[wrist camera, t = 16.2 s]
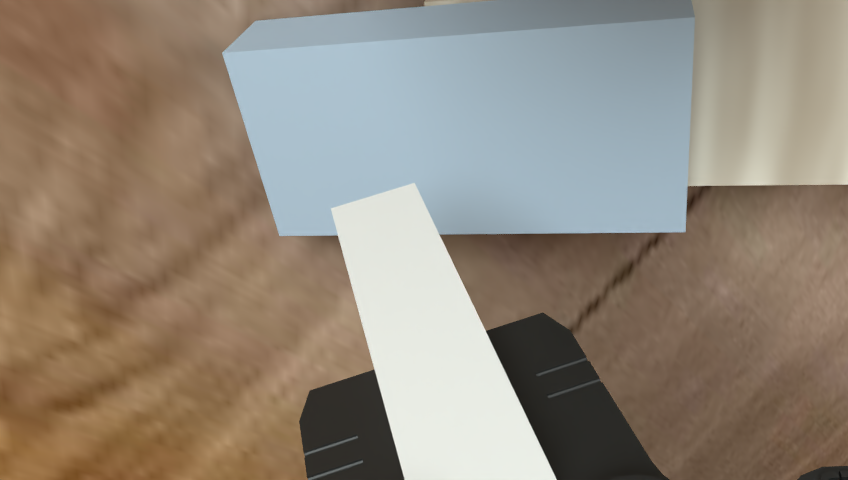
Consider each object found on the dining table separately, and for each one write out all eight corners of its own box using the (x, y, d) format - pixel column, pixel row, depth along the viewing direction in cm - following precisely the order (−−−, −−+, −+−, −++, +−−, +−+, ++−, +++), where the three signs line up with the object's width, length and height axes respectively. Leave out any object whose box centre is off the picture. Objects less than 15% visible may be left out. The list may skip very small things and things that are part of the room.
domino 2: (449, 188, 21) (867, 184, 18) (424, 2, 18) (913, -32, 15) (462, 151, 22) (848, 143, 20) (440, -25, 19) (887, -60, 17)
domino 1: (279, 236, 20) (685, 232, 18) (221, 52, 17) (695, 17, 15) (304, 194, 22) (680, 185, 19) (255, 20, 19) (687, -17, 16)
